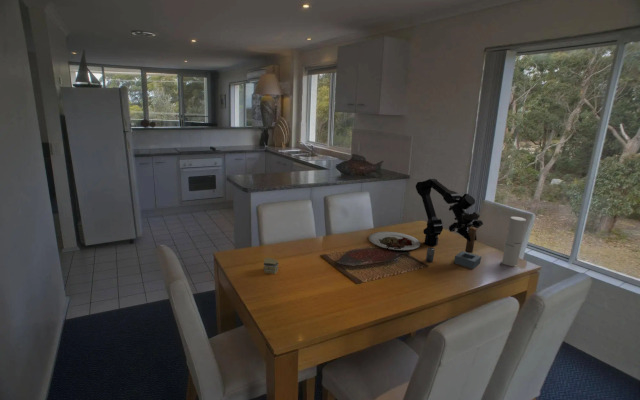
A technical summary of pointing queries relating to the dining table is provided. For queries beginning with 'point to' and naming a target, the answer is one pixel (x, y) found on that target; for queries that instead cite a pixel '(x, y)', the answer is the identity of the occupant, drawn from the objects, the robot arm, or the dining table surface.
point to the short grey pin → (430, 254)
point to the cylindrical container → (513, 241)
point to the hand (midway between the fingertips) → (472, 240)
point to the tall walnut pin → (471, 243)
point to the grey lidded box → (270, 266)
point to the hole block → (467, 259)
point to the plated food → (394, 240)
